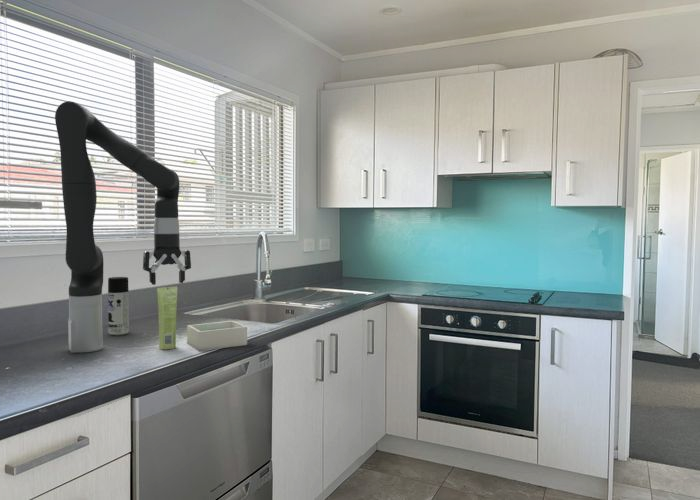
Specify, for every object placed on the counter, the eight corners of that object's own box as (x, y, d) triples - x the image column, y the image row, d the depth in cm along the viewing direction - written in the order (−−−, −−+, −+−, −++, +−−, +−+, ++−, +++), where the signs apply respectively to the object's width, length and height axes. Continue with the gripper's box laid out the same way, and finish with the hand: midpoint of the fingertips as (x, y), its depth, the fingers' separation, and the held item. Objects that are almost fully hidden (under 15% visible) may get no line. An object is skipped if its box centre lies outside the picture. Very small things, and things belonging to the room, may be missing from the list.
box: (199, 351, 165) (199, 332, 165) (187, 343, 175) (187, 325, 175) (247, 344, 174) (247, 326, 174) (233, 337, 184) (233, 320, 184)
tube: (161, 345, 171) (161, 285, 170) (178, 345, 172) (177, 285, 171) (157, 350, 166) (156, 288, 164) (174, 349, 166) (173, 288, 165)
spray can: (105, 333, 188) (104, 277, 187) (124, 330, 193) (123, 276, 192) (113, 336, 184) (112, 279, 182) (132, 333, 188) (131, 277, 187)
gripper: (146, 232, 159) (147, 286, 160) (193, 232, 167) (193, 283, 168) (140, 232, 165) (141, 283, 166) (185, 231, 173) (186, 281, 174)
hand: (167, 283), depth 167 cm, fingers open, 8 cm apart
